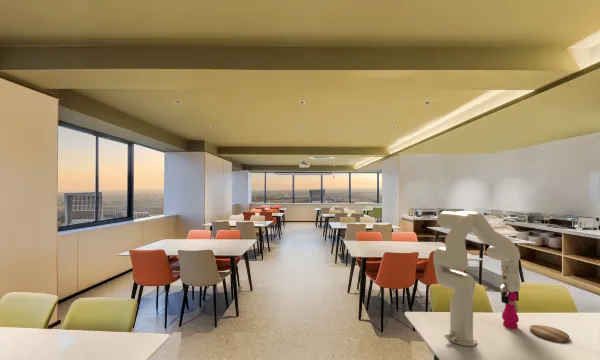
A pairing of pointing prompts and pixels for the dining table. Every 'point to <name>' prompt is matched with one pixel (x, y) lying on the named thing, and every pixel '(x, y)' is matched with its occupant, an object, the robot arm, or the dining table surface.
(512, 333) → the dining table surface
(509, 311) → the pepper mill
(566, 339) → the walnut board
